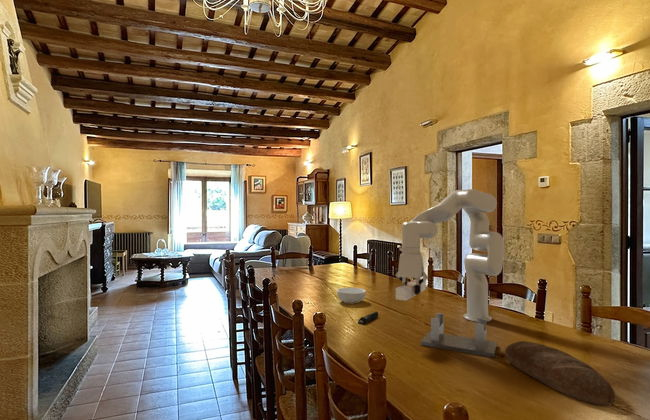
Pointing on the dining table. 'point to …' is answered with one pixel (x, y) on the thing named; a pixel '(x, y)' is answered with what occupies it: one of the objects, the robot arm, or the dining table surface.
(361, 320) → the electric trimmer
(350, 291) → the cereal bowl
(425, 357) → the dining table surface
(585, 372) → the bread
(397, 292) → the white and orange bar
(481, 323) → the grey stand
